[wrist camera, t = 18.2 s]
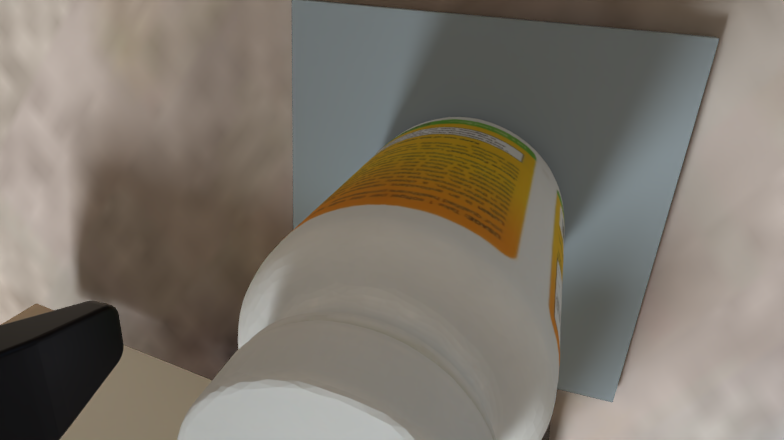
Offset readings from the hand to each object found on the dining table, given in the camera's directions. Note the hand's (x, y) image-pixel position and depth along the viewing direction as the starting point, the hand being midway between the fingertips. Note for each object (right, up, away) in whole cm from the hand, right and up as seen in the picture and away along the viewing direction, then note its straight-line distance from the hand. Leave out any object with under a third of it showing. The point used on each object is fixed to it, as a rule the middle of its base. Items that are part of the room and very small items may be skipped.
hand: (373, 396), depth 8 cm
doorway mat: (+2, +3, +7) cm, 8 cm away
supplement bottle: (+2, +3, +7) cm, 8 cm away
